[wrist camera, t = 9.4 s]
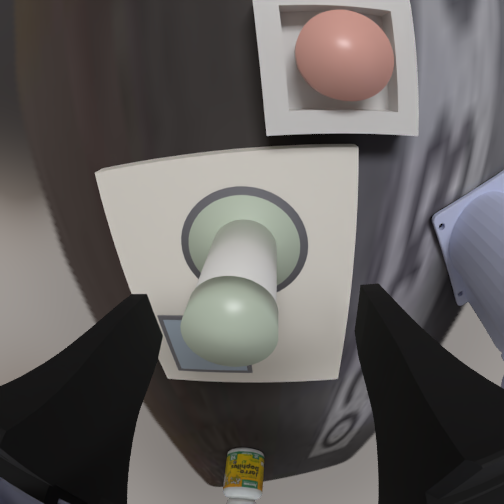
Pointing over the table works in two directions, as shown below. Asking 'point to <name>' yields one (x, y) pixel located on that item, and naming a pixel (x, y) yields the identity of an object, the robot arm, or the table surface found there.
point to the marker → (235, 298)
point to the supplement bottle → (243, 476)
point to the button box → (322, 107)
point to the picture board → (236, 208)
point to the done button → (344, 55)
